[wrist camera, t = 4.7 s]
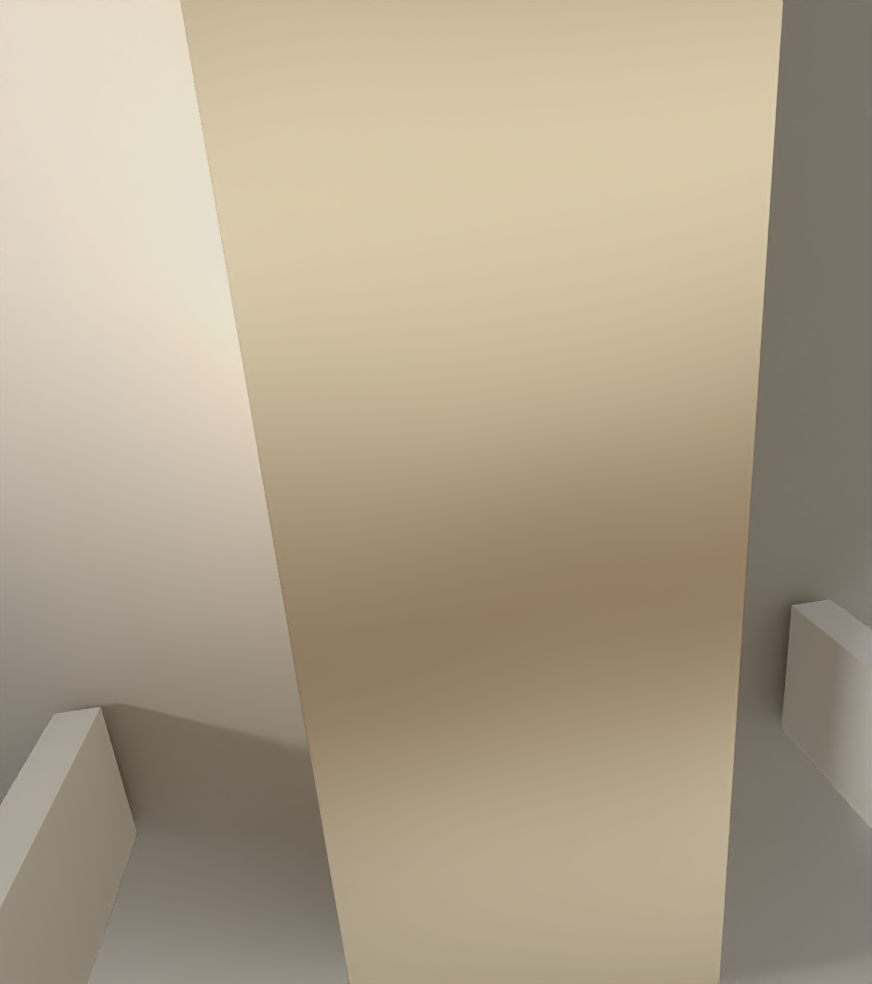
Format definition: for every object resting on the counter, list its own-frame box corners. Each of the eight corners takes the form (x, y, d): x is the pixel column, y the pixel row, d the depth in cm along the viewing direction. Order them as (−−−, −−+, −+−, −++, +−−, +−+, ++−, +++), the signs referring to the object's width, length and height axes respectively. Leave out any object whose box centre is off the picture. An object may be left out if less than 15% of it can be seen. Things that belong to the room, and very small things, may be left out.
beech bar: (571, 922, 16) (699, 1296, 10) (386, 955, 16) (414, 1361, 10) (530, -499, 8) (908, -1927, 3) (173, -499, 8) (-187, -2132, 3)
